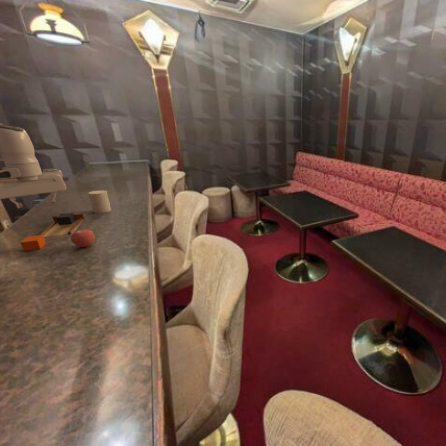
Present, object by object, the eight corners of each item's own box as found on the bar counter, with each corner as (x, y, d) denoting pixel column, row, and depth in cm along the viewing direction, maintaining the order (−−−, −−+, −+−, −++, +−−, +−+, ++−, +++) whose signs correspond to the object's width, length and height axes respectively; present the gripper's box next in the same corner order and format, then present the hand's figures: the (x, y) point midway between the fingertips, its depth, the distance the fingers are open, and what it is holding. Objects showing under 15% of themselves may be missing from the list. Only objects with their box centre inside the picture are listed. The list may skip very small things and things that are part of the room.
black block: (58, 225, 122) (56, 217, 121) (62, 221, 127) (60, 214, 126) (71, 224, 124) (69, 216, 123) (75, 220, 129) (73, 213, 128)
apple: (84, 251, 101) (78, 233, 98) (69, 249, 102) (63, 231, 99) (101, 243, 107) (96, 226, 105) (87, 241, 109) (82, 224, 106)
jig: (37, 239, 109) (34, 231, 108) (55, 222, 127) (52, 216, 126) (72, 235, 114) (70, 227, 113) (84, 219, 132) (82, 213, 131)
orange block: (23, 251, 99) (20, 242, 97) (30, 245, 104) (26, 236, 102) (40, 249, 101) (37, 240, 100) (46, 243, 106) (43, 234, 105)
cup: (90, 213, 142) (84, 193, 138) (104, 209, 149) (98, 189, 145) (101, 214, 140) (96, 194, 136) (114, 210, 148) (110, 191, 143)
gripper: (58, 167, 104) (67, 198, 109) (-18, 172, 88) (-3, 209, 93) (63, 168, 101) (73, 201, 106) (-15, 175, 85) (1, 212, 90)
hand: (37, 205), depth 99 cm, fingers open, 8 cm apart
